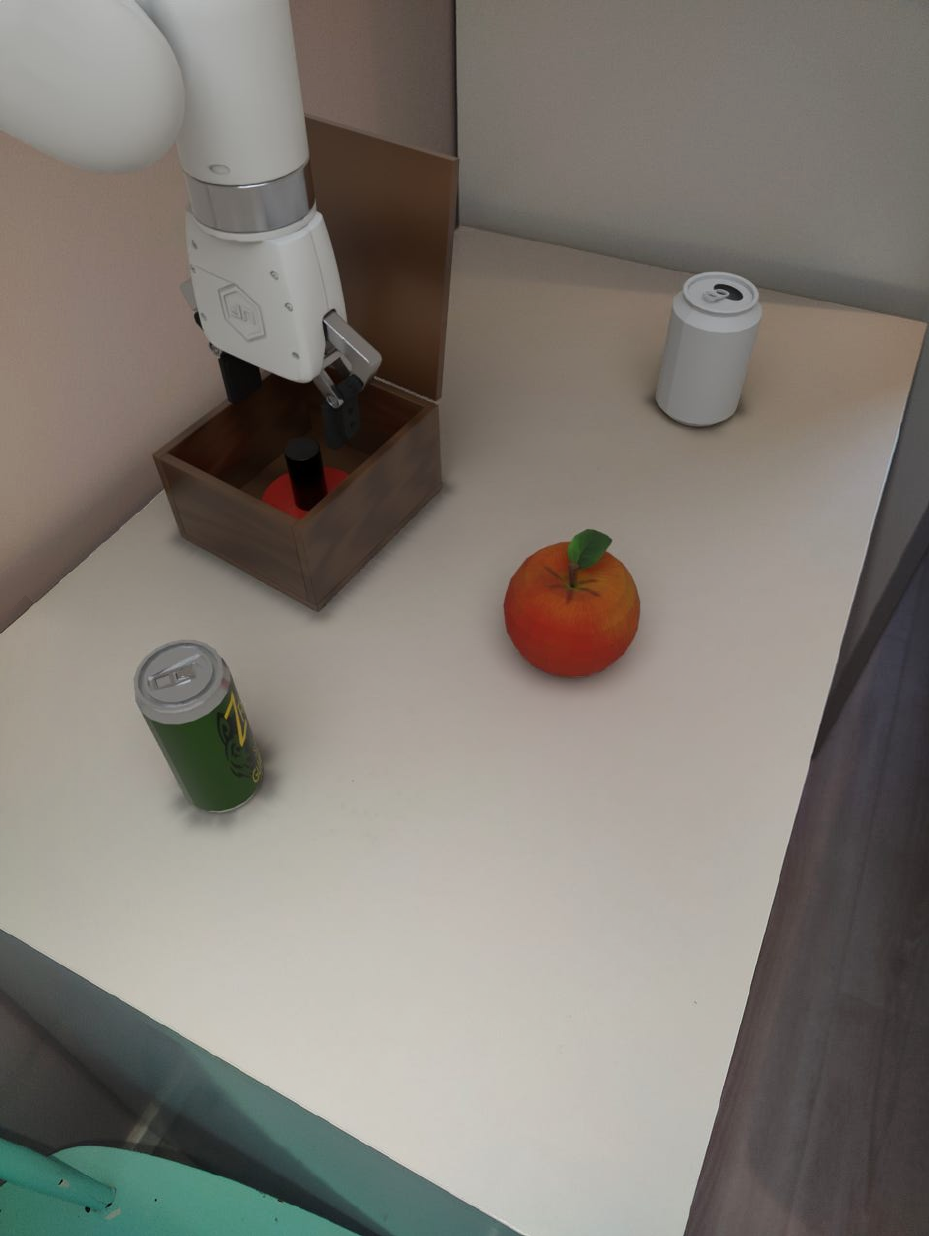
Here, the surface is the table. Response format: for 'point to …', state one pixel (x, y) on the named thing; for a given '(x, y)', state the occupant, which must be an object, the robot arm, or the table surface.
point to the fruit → (572, 607)
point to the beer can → (199, 724)
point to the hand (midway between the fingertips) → (294, 416)
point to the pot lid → (302, 479)
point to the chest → (254, 458)
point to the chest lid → (389, 244)
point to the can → (708, 348)
